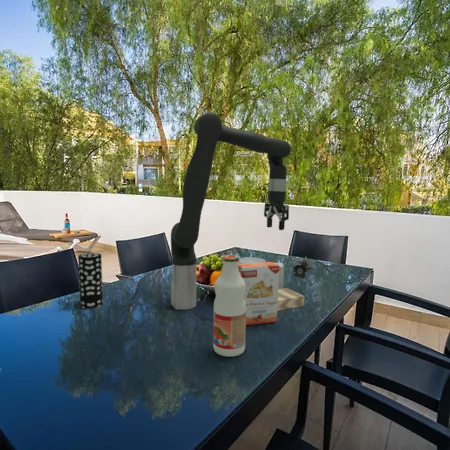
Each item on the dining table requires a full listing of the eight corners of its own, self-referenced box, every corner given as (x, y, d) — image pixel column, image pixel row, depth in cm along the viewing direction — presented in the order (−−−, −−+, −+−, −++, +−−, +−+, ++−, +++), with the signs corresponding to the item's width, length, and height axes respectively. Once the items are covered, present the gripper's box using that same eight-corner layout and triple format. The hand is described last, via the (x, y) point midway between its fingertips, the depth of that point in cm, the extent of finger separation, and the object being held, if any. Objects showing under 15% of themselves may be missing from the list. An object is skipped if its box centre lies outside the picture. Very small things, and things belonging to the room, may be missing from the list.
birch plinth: (268, 312, 128) (268, 302, 128) (252, 302, 139) (252, 293, 138) (304, 305, 136) (304, 296, 135) (286, 296, 146) (286, 287, 146)
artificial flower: (290, 278, 179) (286, 260, 181) (302, 273, 199) (299, 257, 200) (306, 276, 175) (302, 257, 176) (317, 271, 195) (313, 254, 196)
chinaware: (233, 276, 176) (234, 262, 175) (241, 269, 191) (241, 256, 190) (262, 279, 172) (262, 264, 171) (267, 272, 186) (267, 258, 185)
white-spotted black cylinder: (75, 306, 132) (73, 256, 130) (92, 299, 140) (91, 252, 137) (90, 310, 128) (88, 258, 126) (107, 303, 136) (105, 254, 133)
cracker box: (240, 326, 115) (241, 267, 113) (234, 320, 121) (235, 262, 118) (278, 322, 119) (280, 264, 116) (271, 316, 125) (272, 260, 122)
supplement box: (282, 289, 157) (283, 262, 155) (283, 294, 149) (284, 266, 148) (266, 288, 157) (266, 262, 156) (266, 293, 150) (267, 266, 148)
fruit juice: (247, 356, 96) (249, 259, 92) (214, 358, 95) (215, 260, 91) (242, 341, 105) (244, 252, 101) (212, 342, 104) (213, 253, 100)
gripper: (260, 189, 146) (258, 226, 148) (280, 190, 133) (278, 231, 135) (274, 189, 149) (272, 226, 151) (295, 190, 137) (293, 230, 139)
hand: (275, 228), depth 143 cm, fingers open, 8 cm apart
